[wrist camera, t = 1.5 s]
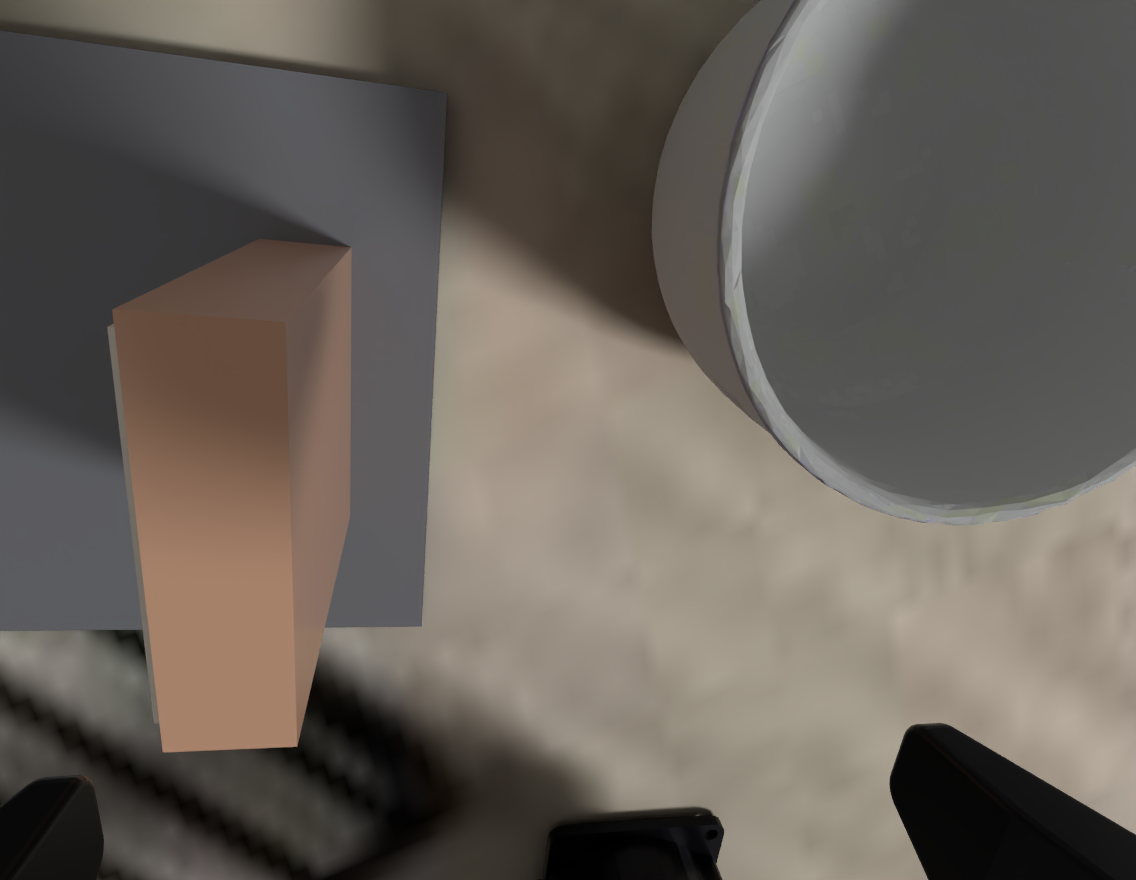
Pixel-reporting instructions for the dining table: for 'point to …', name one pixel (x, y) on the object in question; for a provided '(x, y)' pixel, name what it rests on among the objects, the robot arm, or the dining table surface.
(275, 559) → the tile
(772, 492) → the dining table surface
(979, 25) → the teacup
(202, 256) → the mat
